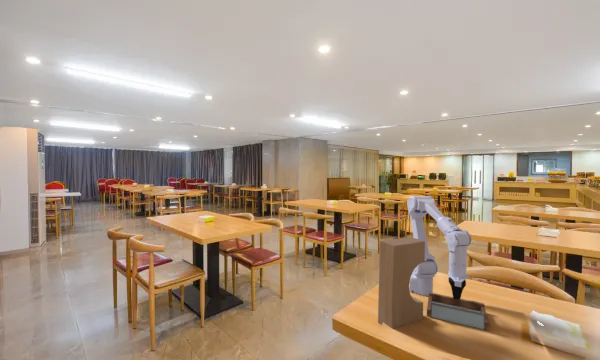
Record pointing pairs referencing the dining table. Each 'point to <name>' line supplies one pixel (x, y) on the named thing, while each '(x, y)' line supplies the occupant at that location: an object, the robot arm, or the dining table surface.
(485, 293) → the dining table surface
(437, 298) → the tray
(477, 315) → the panel
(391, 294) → the decorative block
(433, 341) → the dining table surface
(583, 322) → the dining table surface
